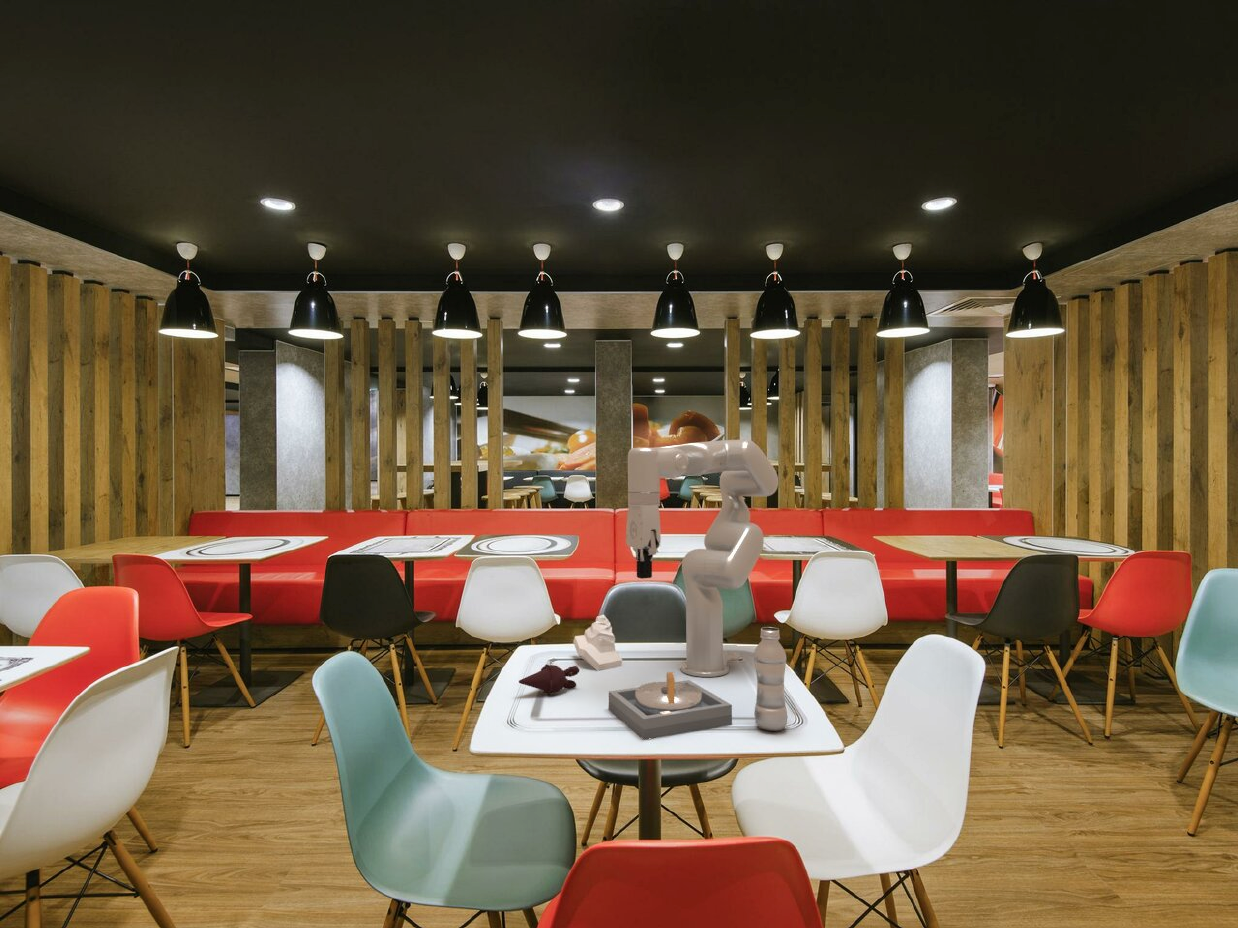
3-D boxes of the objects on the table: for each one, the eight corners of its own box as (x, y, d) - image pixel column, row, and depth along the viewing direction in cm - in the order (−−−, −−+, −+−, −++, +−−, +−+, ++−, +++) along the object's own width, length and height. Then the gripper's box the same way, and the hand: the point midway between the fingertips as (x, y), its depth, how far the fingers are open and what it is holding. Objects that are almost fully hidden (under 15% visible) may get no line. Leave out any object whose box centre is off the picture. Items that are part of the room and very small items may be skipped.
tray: (689, 697, 153) (689, 678, 153) (732, 724, 137) (731, 703, 137) (608, 709, 146) (608, 689, 146) (643, 739, 129) (643, 717, 129)
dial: (633, 695, 148) (633, 659, 148) (696, 694, 148) (696, 658, 148) (637, 718, 134) (636, 678, 134) (706, 717, 134) (706, 677, 134)
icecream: (526, 675, 150) (586, 671, 157) (516, 659, 156) (574, 656, 163) (521, 703, 151) (581, 698, 158) (511, 686, 157) (569, 682, 164)
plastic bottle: (769, 737, 130) (768, 634, 130) (747, 725, 136) (746, 627, 136) (794, 731, 133) (793, 630, 133) (772, 720, 139) (771, 624, 139)
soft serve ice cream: (613, 659, 191) (626, 612, 190) (620, 680, 176) (634, 628, 175) (570, 650, 189) (584, 602, 188) (574, 670, 174) (588, 618, 173)
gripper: (617, 499, 163) (617, 574, 163) (642, 501, 149) (643, 583, 149) (644, 498, 166) (645, 572, 165) (672, 500, 152) (673, 581, 152)
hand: (644, 577), depth 157 cm, fingers closed
